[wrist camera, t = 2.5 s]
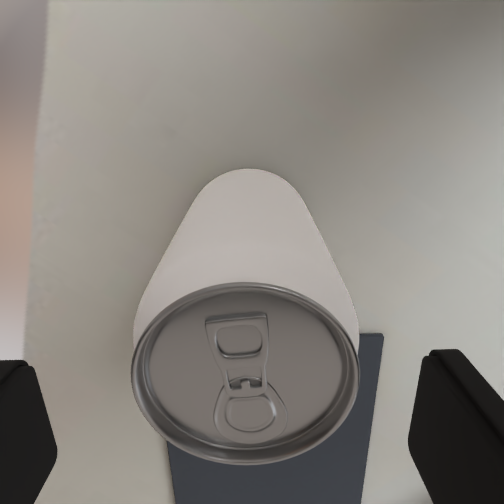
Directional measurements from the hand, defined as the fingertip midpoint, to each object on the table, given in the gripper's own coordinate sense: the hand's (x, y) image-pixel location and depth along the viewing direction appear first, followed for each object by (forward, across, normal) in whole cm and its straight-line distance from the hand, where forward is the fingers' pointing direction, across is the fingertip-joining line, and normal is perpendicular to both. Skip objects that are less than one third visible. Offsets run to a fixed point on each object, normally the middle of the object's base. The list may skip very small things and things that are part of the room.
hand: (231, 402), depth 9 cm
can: (+12, 0, -1) cm, 12 cm away
